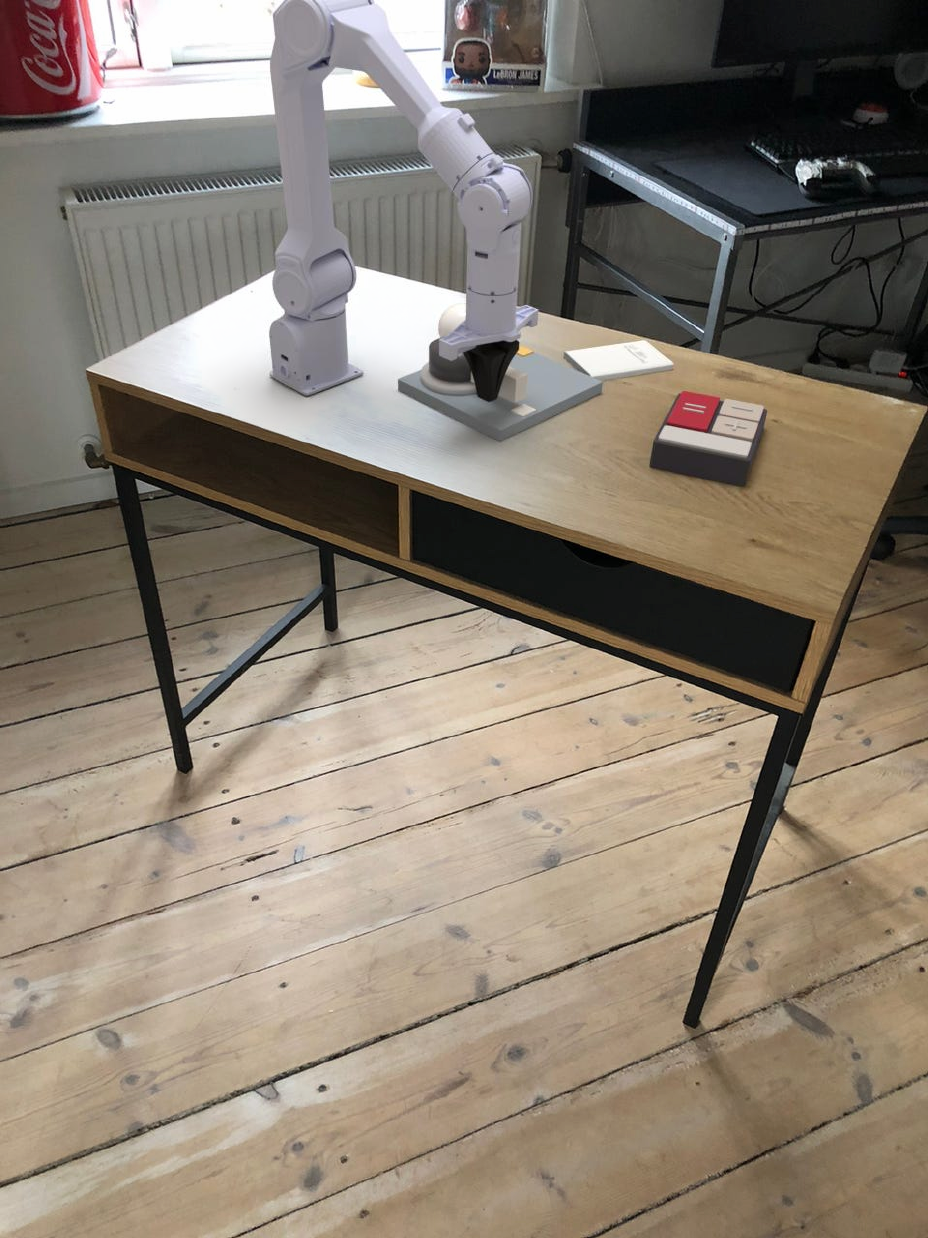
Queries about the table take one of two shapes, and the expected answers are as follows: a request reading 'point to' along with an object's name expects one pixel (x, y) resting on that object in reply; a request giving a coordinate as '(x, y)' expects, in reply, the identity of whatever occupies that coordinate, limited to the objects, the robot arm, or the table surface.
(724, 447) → the calculator
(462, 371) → the cap
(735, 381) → the table surface
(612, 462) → the table surface
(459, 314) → the lightbulb
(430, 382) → the base
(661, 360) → the external hard drive
